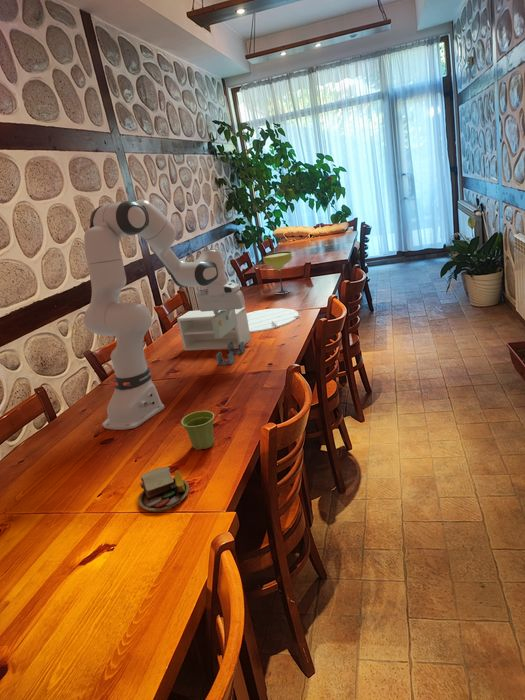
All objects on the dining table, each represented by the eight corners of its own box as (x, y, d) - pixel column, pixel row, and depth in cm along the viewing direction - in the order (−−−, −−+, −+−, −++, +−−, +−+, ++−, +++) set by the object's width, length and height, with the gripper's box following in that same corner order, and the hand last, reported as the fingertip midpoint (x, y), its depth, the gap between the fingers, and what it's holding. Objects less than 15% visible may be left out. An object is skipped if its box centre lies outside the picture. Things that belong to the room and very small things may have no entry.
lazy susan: (312, 319, 239) (311, 313, 238) (241, 339, 227) (239, 332, 226) (280, 306, 275) (279, 300, 274) (217, 322, 263) (216, 317, 262)
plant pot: (204, 433, 143) (198, 408, 140) (226, 440, 137) (220, 413, 134) (181, 449, 136) (174, 422, 133) (203, 456, 130) (197, 429, 127)
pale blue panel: (222, 338, 191) (218, 317, 188) (215, 338, 192) (210, 318, 189) (239, 324, 206) (235, 304, 203) (232, 324, 208) (228, 305, 205)
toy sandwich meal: (140, 520, 108) (135, 504, 107) (138, 489, 121) (133, 473, 119) (193, 504, 111) (189, 487, 110) (186, 474, 124) (182, 459, 122)
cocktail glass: (283, 288, 318) (278, 251, 310) (302, 290, 304) (296, 251, 296) (263, 295, 308) (257, 257, 300) (281, 297, 294) (275, 257, 286)
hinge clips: (230, 364, 195) (228, 355, 194) (217, 365, 197) (215, 355, 196) (245, 350, 209) (243, 341, 208) (232, 351, 211) (230, 342, 210)
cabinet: (241, 348, 213) (235, 314, 207) (184, 350, 224) (177, 318, 219) (250, 339, 223) (245, 307, 218) (196, 341, 234) (189, 311, 229)
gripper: (192, 291, 194) (199, 323, 199) (237, 288, 187) (243, 321, 191) (199, 288, 200) (206, 318, 204) (243, 284, 192) (249, 316, 197)
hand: (224, 319), depth 198 cm, fingers closed on pale blue panel, 2 cm apart
